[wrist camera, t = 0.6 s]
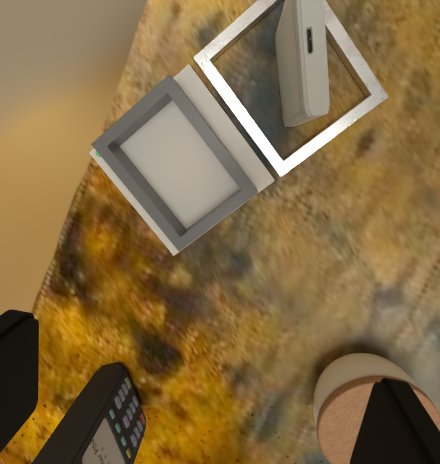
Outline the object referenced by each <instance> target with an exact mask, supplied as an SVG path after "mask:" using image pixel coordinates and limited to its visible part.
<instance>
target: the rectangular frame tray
mask: <svg viewBox="0 0 440 464" xmlns="http://www.w3.org/2000/svg"><path fill="white" fill-rule="evenodd" d="M282 1H283V0H257V1H256V2H255V3H254V4H253V5H252V6H251V7H250V8H248V9H247V10H246V11H245V12H244V13H243V14H242V15H241V16H240V17H238V18H237V19H236V20H235V21H234V22H233V23H232V24H231V25H229V26H228V27H227V28H226V29H225V30H224V31H223V32H222V33H220V34H219V35H218V36H217V37H216V38H215V39H214V40H213V41H211V42H210V43H209V44H208V45H207V46H206V47H205V48H204V49H203V50H201V51H200V52H199V53H198V54H197V55H196V56H195V57H194V60H195V61H196V63H197V64H198V65H199V67H200V68H201V69H202V71H203V72H204V74H205V75H206V76H207V78H208V79H209V80H210V82H211V83H212V84H213V86H214V87H215V89H216V90H217V91H218V93H219V94H220V95H221V97H222V98H223V99H224V101H225V102H226V104H227V105H228V106H229V108H230V109H231V110H232V112H233V113H234V114H235V116H236V117H237V119H238V120H239V121H240V123H241V124H242V125H243V127H244V128H245V129H246V131H247V132H248V134H249V135H250V136H251V138H252V139H253V140H254V142H255V143H256V144H257V146H258V147H259V149H260V150H261V151H262V153H263V154H264V155H265V157H266V158H267V159H268V161H269V162H270V164H271V165H272V166H273V168H274V169H275V170H276V172H277V173H278V174H279V176H280V177H282V176H283V175H284V174H286V173H287V172H288V171H290V170H291V169H292V168H294V167H295V166H296V165H298V164H299V163H300V162H302V161H303V160H304V159H306V158H307V157H308V156H310V155H311V154H312V153H314V152H315V151H316V150H318V149H319V148H320V147H322V146H323V145H324V144H326V143H327V142H329V141H330V140H331V139H333V138H334V137H335V136H337V135H338V134H339V133H341V132H342V131H343V130H345V129H346V128H347V127H349V126H350V125H351V124H353V123H354V122H355V121H357V120H358V119H359V118H361V117H362V116H363V115H365V114H366V113H367V112H369V111H370V110H371V109H373V108H374V107H375V106H377V105H378V104H380V103H381V102H382V101H384V100H385V99H386V98H388V95H387V94H386V92H385V91H384V89H383V88H382V86H381V85H380V83H379V82H378V80H377V79H376V77H375V75H374V74H373V72H372V71H371V69H370V68H369V66H368V65H367V63H366V62H365V60H364V59H363V57H362V56H361V54H360V52H359V51H358V49H357V48H356V46H355V45H354V43H353V42H352V40H351V39H350V37H349V36H348V34H347V32H346V31H345V29H344V28H343V26H342V25H341V23H340V22H339V20H338V19H337V17H336V16H335V14H334V13H333V11H332V9H331V8H330V6H329V5H328V3H327V2H326V0H324V13H325V29H326V37H327V39H328V41H329V42H330V44H331V45H332V47H333V48H334V50H335V51H336V53H337V54H338V56H339V57H340V59H341V60H342V62H343V63H344V65H345V66H346V68H347V69H348V71H349V72H350V74H351V75H352V77H353V78H354V80H355V81H356V83H357V84H358V86H359V87H360V89H361V90H362V92H363V93H364V95H365V96H366V98H364V99H363V100H362V101H360V102H359V103H358V104H356V105H355V106H354V107H352V108H351V109H350V110H349V111H347V112H346V113H345V114H343V115H342V116H341V117H339V118H338V119H337V120H335V121H334V122H333V123H331V124H330V125H329V126H327V127H326V128H325V129H323V130H322V131H321V132H319V133H318V134H317V135H315V136H314V137H313V138H312V139H310V140H309V141H308V142H306V143H305V144H304V145H302V146H301V147H300V148H298V149H297V150H296V151H294V152H293V153H292V154H290V155H289V156H288V157H286V158H285V159H284V160H282V159H281V158H280V156H279V155H278V154H277V152H276V151H275V149H274V148H273V147H272V145H271V144H270V143H269V141H268V140H267V138H266V137H265V136H264V134H263V133H262V132H261V130H260V129H259V127H258V126H257V125H256V123H255V122H254V121H253V119H252V118H251V116H250V115H249V114H248V112H247V111H246V110H245V108H244V107H243V105H242V104H241V103H240V101H239V100H238V98H237V97H236V96H235V94H234V93H233V92H232V90H231V89H230V87H229V86H228V85H227V83H226V82H225V81H224V79H223V78H222V76H221V75H220V74H219V72H218V71H217V70H216V68H215V67H214V65H213V64H212V62H213V61H215V60H216V59H217V58H218V57H219V56H220V55H221V54H223V53H224V52H225V51H226V50H227V49H228V48H229V47H231V46H232V45H233V44H234V43H235V42H236V41H237V40H239V39H240V38H241V37H242V36H243V35H244V34H245V33H247V32H248V31H249V30H250V29H251V28H252V27H253V26H255V25H256V24H257V23H258V22H259V21H260V20H261V19H263V18H264V17H265V16H266V15H267V14H268V13H269V12H271V11H272V10H273V9H274V8H275V7H276V6H277V5H279V4H280V3H281V2H282Z"/></svg>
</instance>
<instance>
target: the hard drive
mask: <svg viewBox="0 0 440 464" xmlns="http://www.w3.org/2000/svg"><path fill="white" fill-rule="evenodd" d="M275 45H276V56H277V66H278V76H279V86H280V97H281V107H282V118H283V124H284V126H285V127H294V126H299V125H302V124H304V123H307V122H309V121H311V120H314V119H316V118H319V117H321V116H324V115H326V114H327V113H328V111H329V107H330V97H329V79H328V63H327V47H326V29H325V13H324V0H285V3H284V6H283V10H282V14H281V18H280V22H279V25H278V28H277V32H276V36H275Z"/></svg>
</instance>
